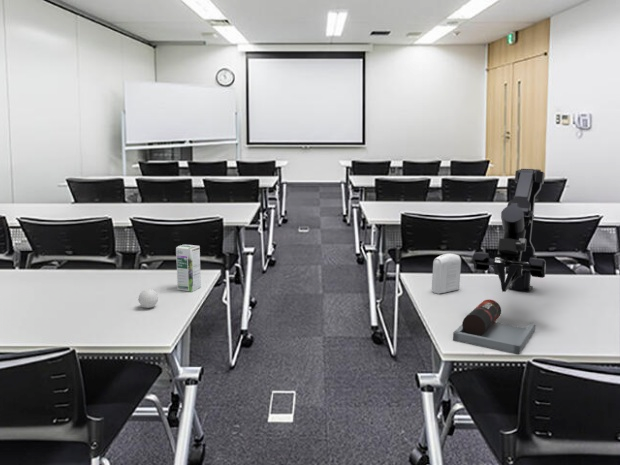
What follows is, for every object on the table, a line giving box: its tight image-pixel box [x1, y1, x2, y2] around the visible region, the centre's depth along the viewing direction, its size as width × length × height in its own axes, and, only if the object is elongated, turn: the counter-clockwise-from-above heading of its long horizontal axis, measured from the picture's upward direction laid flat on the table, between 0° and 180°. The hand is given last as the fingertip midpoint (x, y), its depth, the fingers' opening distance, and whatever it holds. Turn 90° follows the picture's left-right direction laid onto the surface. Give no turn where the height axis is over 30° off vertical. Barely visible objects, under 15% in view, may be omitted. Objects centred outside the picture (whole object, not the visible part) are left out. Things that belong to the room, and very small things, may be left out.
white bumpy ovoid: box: [137, 288, 159, 309], centre depth 163 cm, size 8×6×6 cm
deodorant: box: [461, 298, 502, 336], centre depth 146 cm, size 6×6×15 cm
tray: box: [452, 321, 536, 355], centre depth 142 cm, size 18×16×2 cm
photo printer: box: [431, 253, 462, 294], centre depth 179 cm, size 10×4×12 cm, turn 123°
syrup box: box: [175, 244, 202, 292], centre depth 181 cm, size 6×6×14 cm
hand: (503, 291), depth 148 cm, fingers closed
